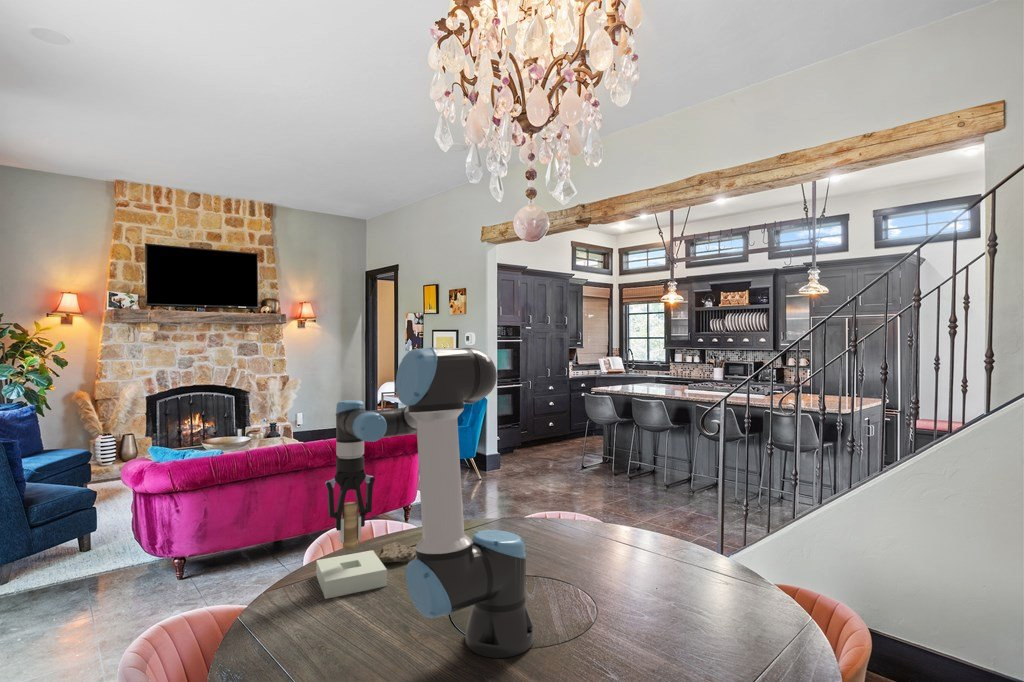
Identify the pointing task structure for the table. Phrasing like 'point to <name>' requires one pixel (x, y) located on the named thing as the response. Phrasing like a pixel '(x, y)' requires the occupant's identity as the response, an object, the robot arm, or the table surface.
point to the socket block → (350, 574)
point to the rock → (396, 553)
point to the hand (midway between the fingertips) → (350, 539)
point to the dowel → (350, 525)
